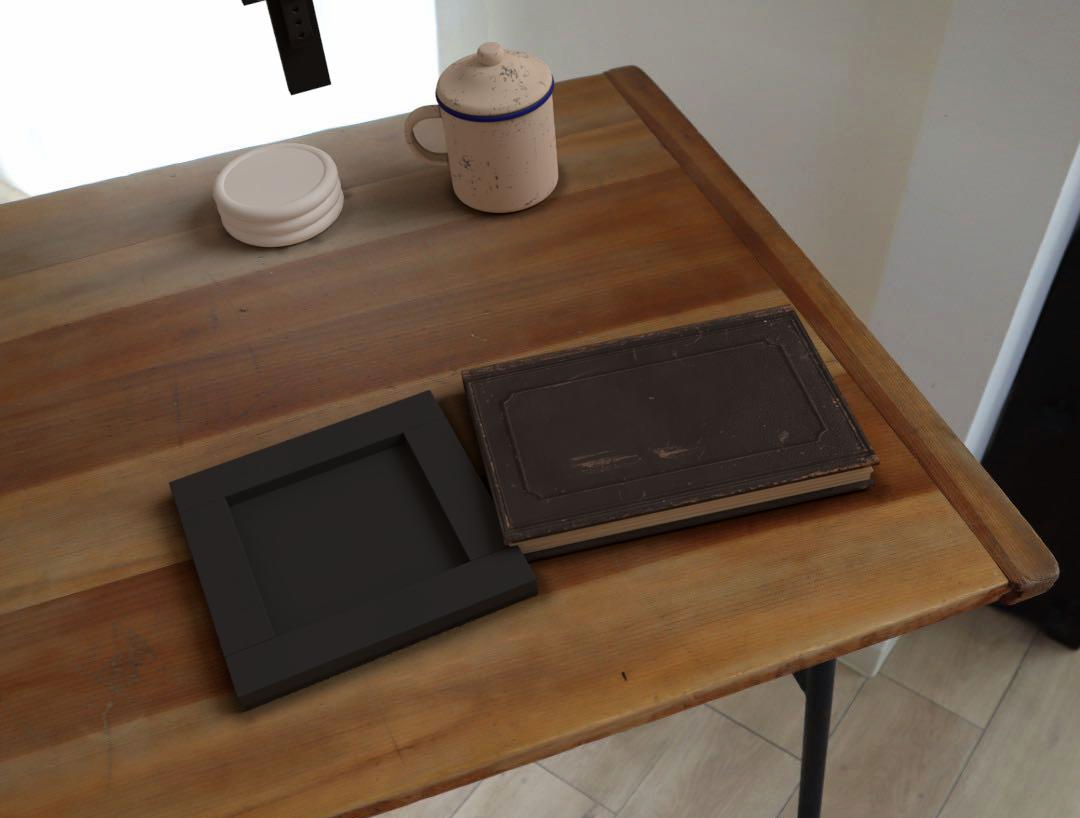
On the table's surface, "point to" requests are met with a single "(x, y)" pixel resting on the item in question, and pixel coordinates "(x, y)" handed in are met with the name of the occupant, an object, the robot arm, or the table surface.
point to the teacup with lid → (494, 129)
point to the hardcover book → (662, 432)
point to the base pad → (345, 547)
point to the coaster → (278, 194)
